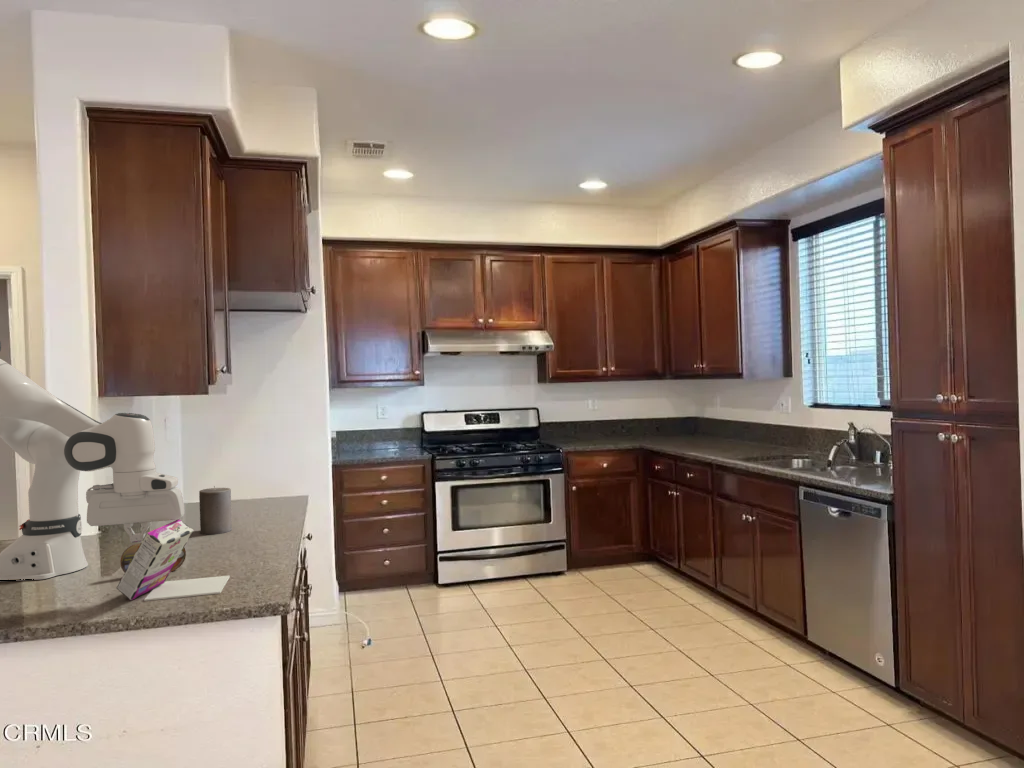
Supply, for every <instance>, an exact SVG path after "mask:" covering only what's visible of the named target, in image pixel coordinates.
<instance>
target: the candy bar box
mask: <svg viewBox="0 0 1024 768" xmlns="http://www.w3.org/2000/svg"><path fill="white" fill-rule="evenodd" d="M193 532H194V529H193V528H192V527H190V526H189V525H188V524H186V523H185V522H184V521H183V520H182V519H178V520H172V522H169V523H167V524H164V525H162V526H160V527H157V528H155V529H153V530H152V529H151V530H150V531H148V532H147V531H146V533H145V537H144V539H143V541H142V542H140V543H141V544H140V543H139V544H140V546H139V548H138V550H137V551H136V553H135V555H134V557H133V559H132V561H131V563H130V564H129V566H128V568H127V570H126V572H125V573H124V574H123V576H122V577H121V579H120V581H119V583H118V585H117V587H116V590H118V592H120V593H121V594H123V595H124V596H125V597H126V598H128V599H129V600H130V601H133V600H135V599H137V598H139V597H140V596H142V595H144V594H146V593H148V592H151V591H152V590H153V589H154V588H156V587H157V586H159V585H161V584H163V583H164V582H165V581H166V580H167V579H168V576H169V574H170V573H171V572H170V571H171V570H172V568H173V566H174V564H175V562H176V561H177V559H178V557H179V555H180V554H181V552H182V550H183V548H186V547H185V546H186V545H187V543H188V541H189V539H190V538H191V536H192V534H193Z"/></svg>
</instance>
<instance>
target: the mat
mask: <svg viewBox="0 0 1024 768" xmlns="http://www.w3.org/2000/svg"><path fill="white" fill-rule="evenodd" d="M230 577H231V575H229V574H228V575H222V576H221V575H220V576H209V577H198V578H188V579H177V580H167V581H166V580H165V582H164V583H163V584H161V585H159V586H157V587H156V588H154V589H152V590H150V591H149V593H148V594H147V595H146V596H145V598H144V599H143V602H147V601H158V600H159V601H161V600H167V599H179V598H187V597H190V598H191V597H198V596H200V597H201V596H207V595H217V594H218V595H219V594H221V593H222V591H223V590H224V588H225V586H226V585H227V583H228V580H229V579H230Z"/></svg>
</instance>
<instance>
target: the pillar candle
mask: <svg viewBox="0 0 1024 768" xmlns="http://www.w3.org/2000/svg"><path fill="white" fill-rule="evenodd" d="M231 491H232V488H229V487H215V485H213V487H209V488H203V489H201V490H199V491H198V492H199V493H198V496H199V498H198V499H199V525H200V527H199V528H200V532H199V534H201V535H208V536H209V535H219V534H225V533H229V532H231V531H232V530H233V529H232V526H233V525H232V521H233V518H232V493H231Z"/></svg>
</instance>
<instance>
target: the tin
mask: <svg viewBox="0 0 1024 768" xmlns="http://www.w3.org/2000/svg"><path fill="white" fill-rule="evenodd" d="M141 543H142V542H139V543H134V544H132V545H130V546H128V547H127V548H126V549H125V550H124V551H123V553H122V554H121V557H120V567H121V570H122V571H123V573H124V574H125V572H126V570H127V568H128V566H129V564H130V563H131V561H132V559H133V557H134V555H135V553H136V551H137V550H138V548H139V546H140V544H141ZM186 556H187V551H186V547H184V548H183V550H182V552H181V554H180V555H179V557H178V559H177V561H176V562H175V564H174V566H173V568H172V570H171V571H170V573H171V572H174V571H176V570H179V568H180V567H182V566H183V564H184V563H185V560H186Z"/></svg>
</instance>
